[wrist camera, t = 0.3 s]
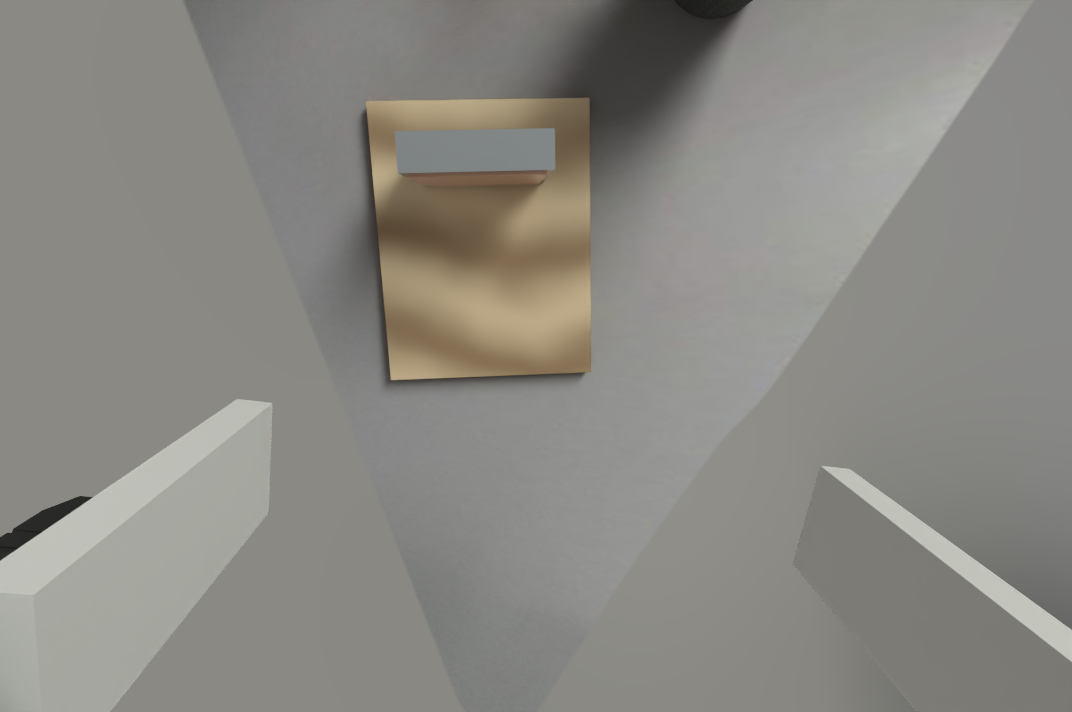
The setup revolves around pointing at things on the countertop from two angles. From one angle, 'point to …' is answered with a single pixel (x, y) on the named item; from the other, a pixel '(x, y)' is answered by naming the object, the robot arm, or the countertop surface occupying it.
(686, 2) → the coffee cup
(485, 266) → the thin tan sheet
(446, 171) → the tile
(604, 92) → the countertop surface
